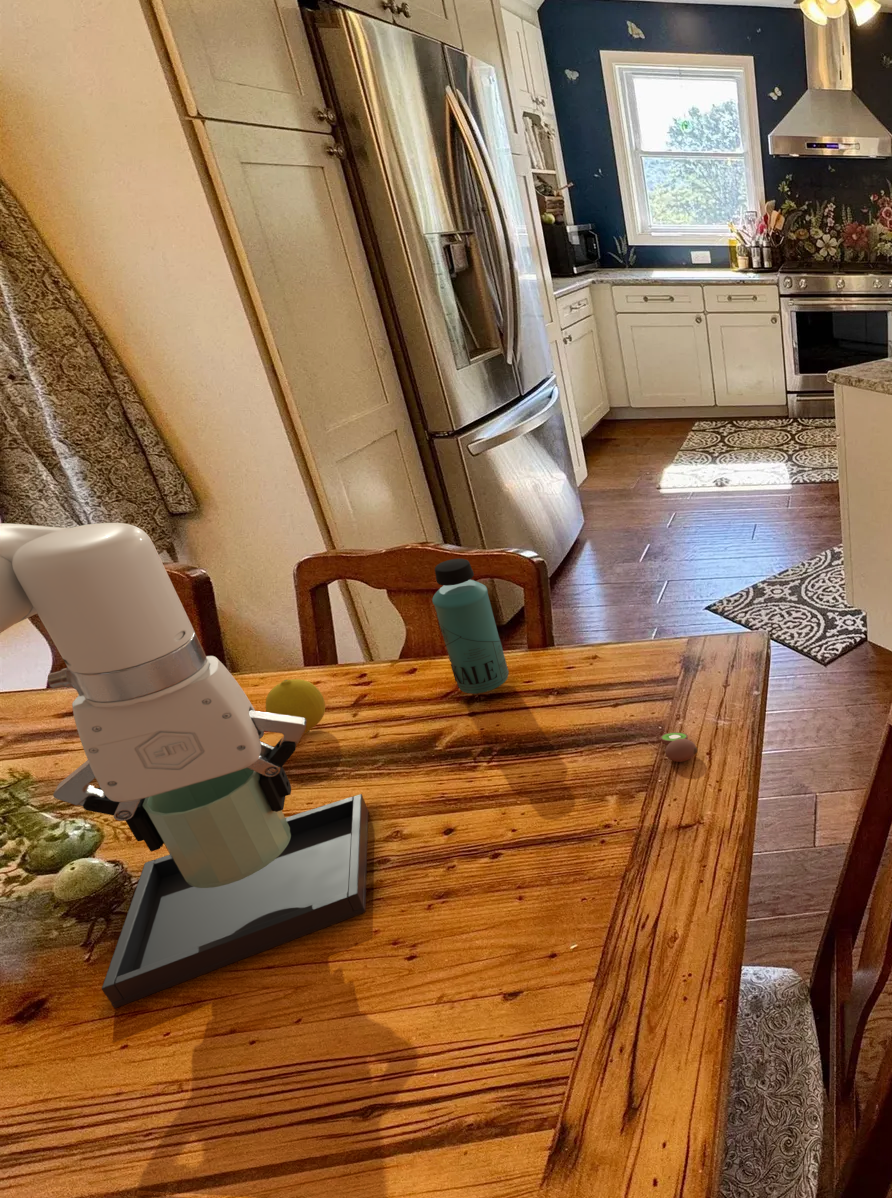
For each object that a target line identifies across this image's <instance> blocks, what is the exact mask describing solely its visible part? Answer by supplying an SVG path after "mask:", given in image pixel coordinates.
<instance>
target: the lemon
mask: <svg viewBox="0 0 892 1198" xmlns="http://www.w3.org/2000/svg"><path fill="white" fill-rule="evenodd" d="M265 712H268V713H275V714H282V715H289V716H296V717H303V718H305V719H306V720H307V724H306V730H305V732H304V733H303V734H306V733H308V732H310V730H311V729H313V728H314V727H315V726H318V724H319V723H320V722H321V721H322V720H323V718H324V715H325V712H326V703H325V699H324V695H323V694H322V692H321V690H320V689H319V688H318V687H317V686H316V685H315V684H313V683H312V682H310V681H308V680H305V679H300V678H294V679H292V678H291V679H284V680H282V681H281V682H280V683H277V684H276V685H275V686H274V687H273V688H271V690H270V691H269V692H268V694H267V696H266V699H265Z"/></svg>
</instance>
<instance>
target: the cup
mask: <svg viewBox="0 0 892 1198" xmlns="http://www.w3.org/2000/svg"><path fill="white" fill-rule="evenodd" d="M260 777H261V774H260V773H257V772H255V771H253V770H251V769H248V768H244V769H242V770H239V771H236V772H233V773H230V774H227V775H223V776H220V777H217V778H213V779H210V780H206V781H203V782H200V783H196V784H193V785H189V786H186V787H182V788H179V789H175V790H172V791H168V792H165V793H161V794H158V795H154V796H151V797H147V798H145V800H144V803H143V808H144V810H145V811H146V813H147V815H148V817H149V818H150V820H151V822H152V824H153V825H154V827H155V829H156V831H157V833H158V834H159V836H160V838H161V840H162V841H163V843H164V844H163V846H164V847H165V848H166V850H167V852H168V855H170V856H171V857H172V859H173V861H174V863H175V864H176V866H177V868H178V870H179V871H180V873H181V875H182V876H183V878H184V879H185V881H186V882H187V883H188V884H189V885H191V886H193V887H197V888H213V887H219V886H223V885H227V884H230V883H233V882H236V881H238V880H241V879H243V878H246V877H248V876H250V875H252V874H254V873H256V872H257V871H259V870H261V869H262V868H264V867H265V866H267V865H268V864H270V863H271V862H272V861H273V860H275V859H276V858H277V857H278V856H279V855H280V854H281V853H282V852H283V851H284V850H285V848H286V847H287V845H288V843H289V841H290V838H291V832H290V827H289V825H288V823H287V821H286V816H285V813H284V812H283V810H281V811H278V812H275V811H272V809H271V807H270V805H269V803H268V801H267V799H266V797H265V794H264V792H263V790H262V788H261V786H260V783H259V780H260Z"/></svg>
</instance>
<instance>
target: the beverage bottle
mask: <svg viewBox="0 0 892 1198" xmlns="http://www.w3.org/2000/svg"><path fill="white" fill-rule="evenodd" d="M434 574H435V581H436V583H437V584H438V585H440V586H441V587H440V588H439V589H438V590H437V591H436V592H435V593H434V595H433V597H432V599H431V600H432V601H431V602H432V605H434V610H435V612H436V618H437V622H438V623H437V625H438V629H439V630H440V633H441V634H440V635H441V638H443V642H444V647H445V652H446V655H447V658H448V660H449V662H450V668H451V672H452V675H453V677H454V682H455V686H456V687H457V688H458V689H459V690H460V691H461V692H463V693H464V694H471V695H475V694H483V693H487V692H489V691H492V690H495V689H497V688H499V687H501V686H502V685H503V684H504V683H506V681H507V680H508V678H509V674H510V672H509V667H508V663H507V660H506V656H505V653H504V648H503V645H502V641H501V638H500V636H499V632H498V628H497V624H496V620H495V617H494V612H493V608H492V604H491V601H490V597H489V593H488V592H489V591H488V588H487V586H486V585H485V584H483V583H481V582H479V581H476V580H474V579H472V578H473V577H474V576H475V573H474V570H473V569H472V566H471V563H470V561H469V560H468V559H465V558H451V559H447V560H444V561H442V562H440V563H438V564H437V565H436V566H435V567H434Z"/></svg>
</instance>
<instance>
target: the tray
mask: <svg viewBox="0 0 892 1198" xmlns="http://www.w3.org/2000/svg"><path fill="white" fill-rule="evenodd" d="M285 818H286V821H287V823H288V825H289V827H290V832H291V838H290V841H289V843H288V845H287V847H286V848H285V850H284V851H283V852H282V853H281V854H280V855H279V856H278V857H277V858H276V859H275V860H273V861H272V862H271V863H270V864H268V865H267V866H265V867H264V868H262V869H261V870H259V871H257V872H256V873H254V874H252V875H250V876H248V877H246V878H243V879H241V880H238V881H236V882H233V883H230V884H227V885H223V886H219V887H213V888H197V887H193V886H191V885H189V884H188V883H187V882H186V881H185V879H184V878H183V876H182V875H181V873H180V871H179V870H178V868H177V866H176V864H175V863H174V861H173V859H172V857H171V856H170V854H168V855H164V856H161V857H158V858H155V859H152V860H149V861H146V862H144V864H143V866H142V871H141V873H140V876H139V878H138V881H137V884H136V887H135V890H134V893H133V896H132V898H131V901H130V905H129V908H128V910H127V913H126V917H125V920H124V922H123V925H122V928H121V931H120V934H119V937H118V940H117V941H116V942H117V943H116V945H115V949H114V952H113V955H112V958H111V959H110V960H111V961H110V963H109V966H108V969H107V971H106V975H105V977H104V979H103V984H102V986H101V990H102V992H103V993H104V995H105V996H106V998H107V999H108V1001H109V1002H110V1004H111V1006H112V1007H113V1009H117V1008H120V1007H122V1006H124V1005H127V1004H131V1003H133V1002H135V1001H137V1000H140V999H142V998H146V997H148V996H151V995H153V994H157V993H159V992H161V991H164V990H166V989H169V988H171V987H174V986H176V985H179V984H182V983H184V982H187V981H190V980H192V979H194V978H198V977H200V976H202V975H205V974H207V973H211V972H214V971H215V970H219V969H221V968H223V967H226V966H229V965H232V964H234V963H236V962H239V961H242V960H244V959H247V958H249V957H252V956H255V955H257V954H260V953H263V952H265V951H268V950H270V949H273V948H275V947H278V946H280V945H283V944H286V943H288V942H292V941H293V940H296V939H299V938H302V937H304V936H307V935H309V934H311V933H314V932H317V931H320V930H322V929H325V928H327V927H330V926H333V925H335V924H337V923H340V922H343V921H346V920H348V919H352V918H353V917H357V916H359V915H362V914H364V913H366V907H367V906H366V905H367V904H366V903H367V874H368V873H367V871H368V869H367V867H368V841H369V840H368V837H369V835H368V833H369V809H368V806H367V804H366V801H365V798H364V796H363V794H362V793H359V794H357V795H353V796H349V797H347V798H343V799H340V800H337V801H334V802H331V803H327V804H324V805H321V806H318V807H315V808H312V809H308V810H306V811H301V812H300V813H296V814H293V815H289V816H285Z"/></svg>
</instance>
